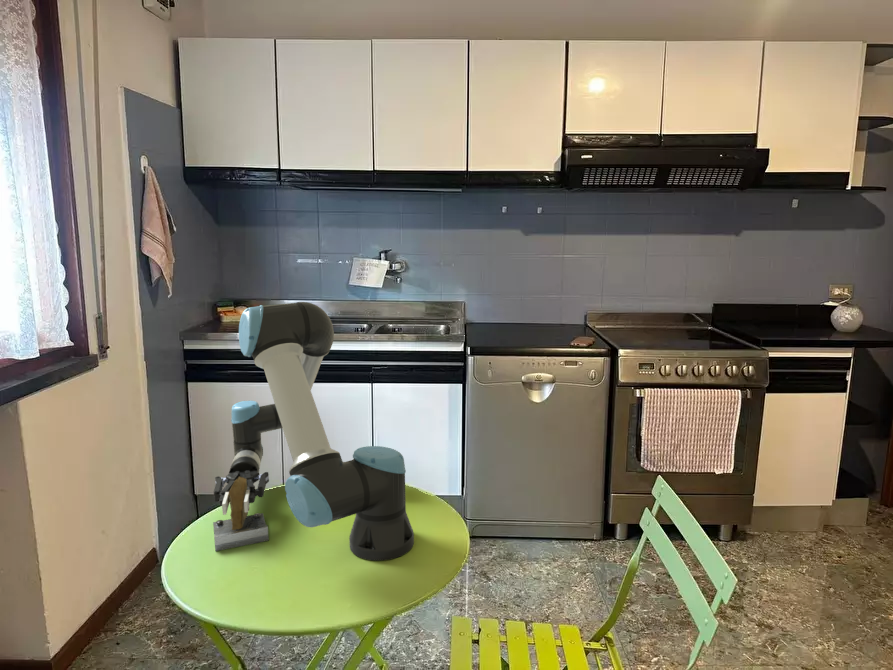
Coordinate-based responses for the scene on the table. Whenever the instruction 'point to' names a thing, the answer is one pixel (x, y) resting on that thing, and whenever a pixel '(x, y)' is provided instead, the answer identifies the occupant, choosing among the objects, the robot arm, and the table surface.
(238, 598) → the table surface
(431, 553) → the table surface
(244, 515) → the rock
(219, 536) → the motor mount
